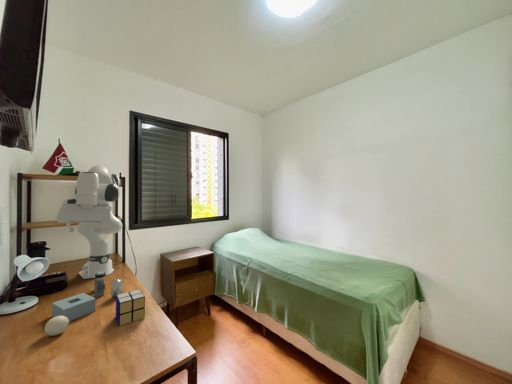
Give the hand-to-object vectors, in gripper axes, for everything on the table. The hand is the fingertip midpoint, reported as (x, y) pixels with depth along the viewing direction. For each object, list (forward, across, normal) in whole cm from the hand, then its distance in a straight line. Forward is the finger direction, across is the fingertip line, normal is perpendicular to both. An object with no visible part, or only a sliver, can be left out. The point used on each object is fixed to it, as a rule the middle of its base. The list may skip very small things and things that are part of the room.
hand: (84, 231), depth 101 cm
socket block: (+37, -1, -13) cm, 39 cm away
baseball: (+41, +6, +1) cm, 41 cm away
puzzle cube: (+41, -18, +9) cm, 46 cm away
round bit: (+34, -19, -17) cm, 43 cm away
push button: (+30, -14, -35) cm, 48 cm away
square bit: (+32, -13, -26) cm, 43 cm away
